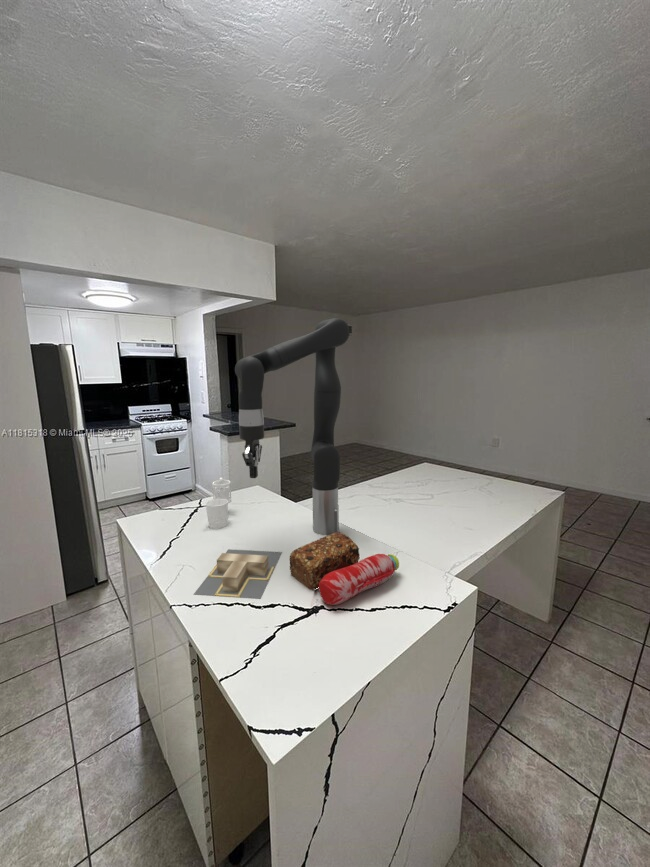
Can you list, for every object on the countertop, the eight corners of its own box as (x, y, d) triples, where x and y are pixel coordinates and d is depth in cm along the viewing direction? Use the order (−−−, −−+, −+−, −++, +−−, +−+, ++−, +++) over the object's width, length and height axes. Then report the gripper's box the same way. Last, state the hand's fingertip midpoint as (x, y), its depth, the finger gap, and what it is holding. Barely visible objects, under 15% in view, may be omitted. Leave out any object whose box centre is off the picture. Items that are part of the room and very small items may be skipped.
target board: (282, 554, 114) (282, 551, 114) (260, 602, 90) (260, 598, 90) (228, 552, 116) (228, 548, 116) (193, 598, 92) (193, 593, 92)
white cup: (223, 532, 130) (221, 506, 128) (203, 531, 132) (201, 505, 130) (232, 523, 138) (231, 499, 136) (214, 522, 139) (212, 498, 138)
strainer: (231, 510, 151) (229, 476, 149) (232, 516, 145) (230, 481, 142) (214, 512, 149) (212, 478, 146) (214, 518, 142) (212, 483, 140)
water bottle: (306, 567, 94) (375, 541, 109) (309, 597, 94) (377, 567, 109) (333, 581, 84) (405, 551, 99) (337, 614, 85) (407, 579, 99)
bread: (337, 556, 113) (337, 527, 111) (361, 570, 105) (361, 539, 103) (288, 577, 101) (287, 545, 100) (310, 595, 93) (309, 560, 91)
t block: (268, 568, 104) (268, 555, 104) (255, 593, 93) (255, 579, 92) (223, 565, 106) (222, 553, 105) (204, 589, 94) (203, 575, 94)
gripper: (256, 426, 103) (259, 484, 106) (269, 420, 116) (270, 472, 119) (231, 426, 104) (234, 483, 106) (246, 420, 117) (249, 471, 119)
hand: (253, 477), depth 113 cm, fingers closed
